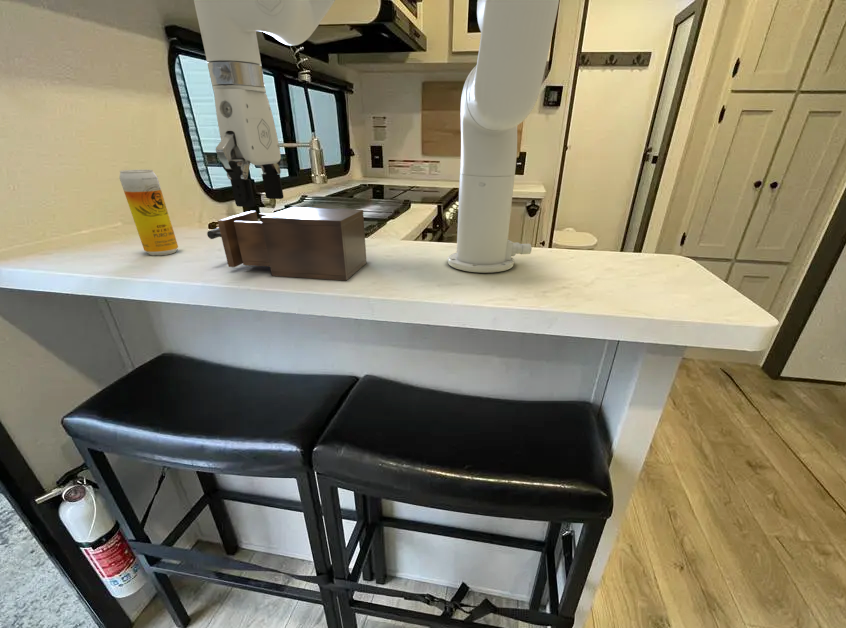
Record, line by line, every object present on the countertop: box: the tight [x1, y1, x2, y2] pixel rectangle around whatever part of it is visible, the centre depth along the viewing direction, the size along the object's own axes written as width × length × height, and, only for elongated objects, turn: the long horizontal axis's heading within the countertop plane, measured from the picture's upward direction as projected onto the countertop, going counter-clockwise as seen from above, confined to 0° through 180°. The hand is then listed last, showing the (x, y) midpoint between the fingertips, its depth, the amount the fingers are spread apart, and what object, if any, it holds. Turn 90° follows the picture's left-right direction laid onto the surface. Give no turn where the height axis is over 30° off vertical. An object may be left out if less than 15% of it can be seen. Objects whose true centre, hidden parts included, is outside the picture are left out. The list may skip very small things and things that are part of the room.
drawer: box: [206, 210, 271, 268], centre depth 75 cm, size 17×10×8 cm, turn 80°
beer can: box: [119, 169, 179, 256], centre depth 81 cm, size 6×6×15 cm
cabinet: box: [261, 206, 368, 282], centre depth 73 cm, size 14×12×10 cm
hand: (261, 202), depth 71 cm, fingers open, 9 cm apart
